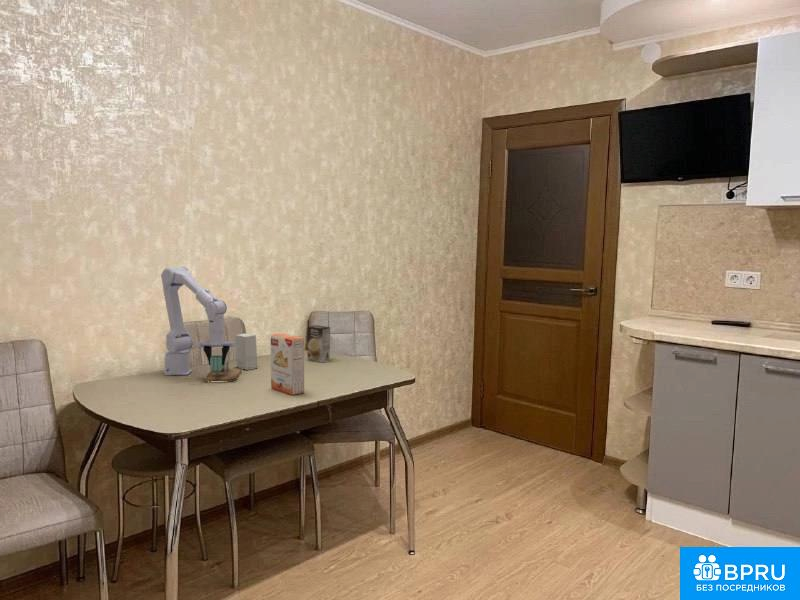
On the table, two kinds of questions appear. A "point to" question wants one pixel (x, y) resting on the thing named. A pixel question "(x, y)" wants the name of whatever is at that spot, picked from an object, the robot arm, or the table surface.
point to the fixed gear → (225, 367)
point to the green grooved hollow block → (216, 362)
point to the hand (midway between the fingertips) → (216, 364)
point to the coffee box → (318, 344)
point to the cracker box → (287, 363)
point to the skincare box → (246, 351)
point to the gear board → (223, 375)
